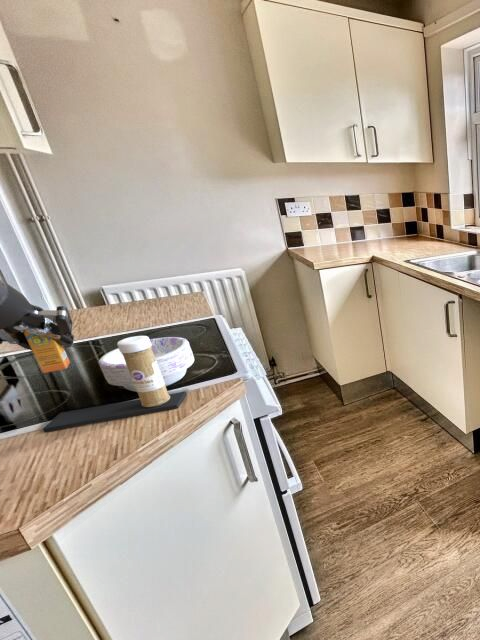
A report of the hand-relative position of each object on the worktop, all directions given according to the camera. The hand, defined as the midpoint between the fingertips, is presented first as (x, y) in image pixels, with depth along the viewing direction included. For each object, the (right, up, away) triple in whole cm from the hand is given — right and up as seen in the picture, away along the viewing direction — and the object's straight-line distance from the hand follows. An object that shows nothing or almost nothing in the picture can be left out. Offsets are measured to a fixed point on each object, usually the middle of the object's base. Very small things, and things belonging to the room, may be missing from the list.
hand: (53, 344), depth 76 cm
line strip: (+7, -13, +6) cm, 16 cm away
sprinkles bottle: (+12, -12, +8) cm, 19 cm away
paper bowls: (+4, -9, +18) cm, 20 cm away
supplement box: (+1, -5, 0) cm, 5 cm away
